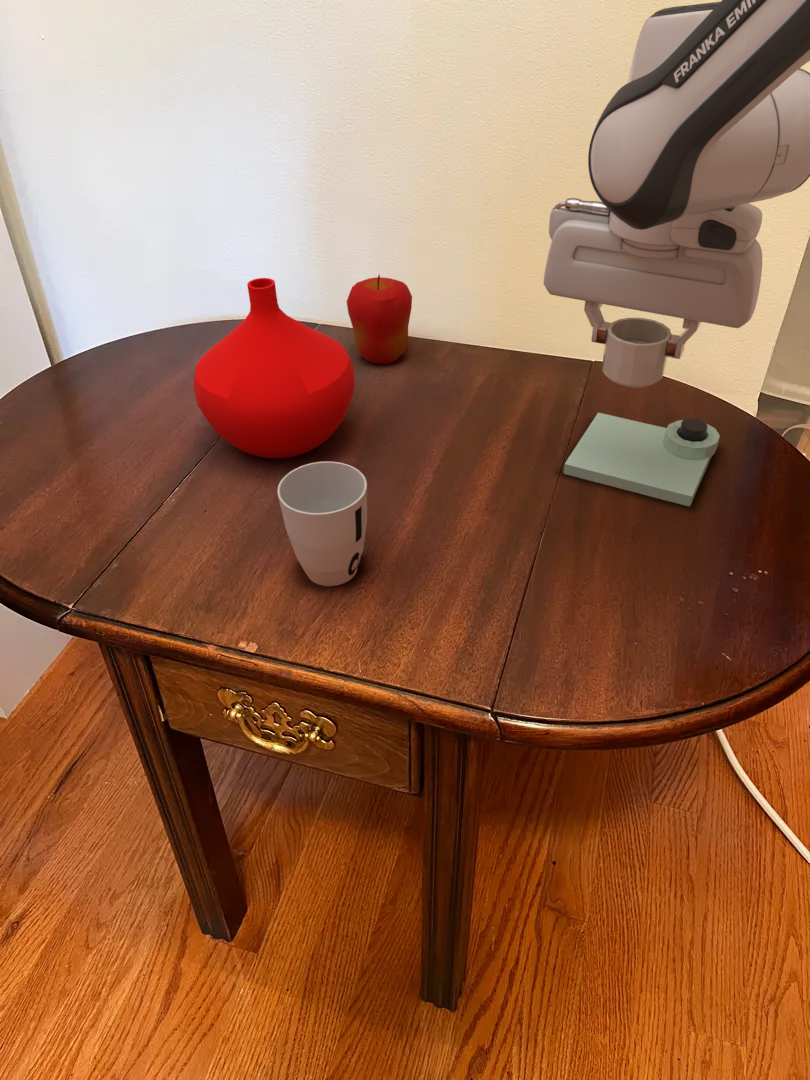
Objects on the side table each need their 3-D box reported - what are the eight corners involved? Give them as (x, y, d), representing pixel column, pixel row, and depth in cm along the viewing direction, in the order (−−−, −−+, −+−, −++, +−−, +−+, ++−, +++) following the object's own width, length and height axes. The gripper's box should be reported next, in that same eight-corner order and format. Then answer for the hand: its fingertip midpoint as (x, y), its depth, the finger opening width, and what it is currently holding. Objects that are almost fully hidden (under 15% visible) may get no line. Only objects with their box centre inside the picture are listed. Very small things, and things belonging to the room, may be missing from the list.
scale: (718, 449, 96) (723, 426, 95) (693, 508, 88) (698, 484, 86) (597, 420, 102) (600, 399, 100) (563, 473, 94) (565, 451, 92)
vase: (360, 475, 94) (348, 315, 82) (197, 485, 94) (160, 326, 82) (356, 393, 108) (346, 247, 96) (214, 401, 108) (186, 255, 96)
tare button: (707, 432, 94) (710, 421, 93) (701, 445, 92) (704, 433, 91) (682, 427, 95) (684, 415, 94) (676, 439, 93) (678, 427, 92)
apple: (415, 342, 119) (413, 261, 111) (410, 371, 113) (408, 286, 105) (355, 341, 120) (350, 260, 112) (347, 369, 113) (340, 286, 106)
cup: (370, 596, 79) (364, 513, 73) (285, 597, 79) (271, 514, 73) (374, 541, 85) (368, 460, 79) (295, 542, 86) (283, 461, 79)
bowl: (669, 368, 88) (677, 324, 85) (653, 395, 84) (662, 350, 81) (611, 356, 91) (618, 313, 87) (593, 382, 86) (599, 337, 83)
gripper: (540, 205, 78) (529, 341, 87) (769, 237, 71) (732, 383, 79) (562, 185, 82) (550, 317, 91) (781, 214, 75) (745, 354, 84)
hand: (636, 348), depth 85 cm, fingers closed on bowl, 6 cm apart
